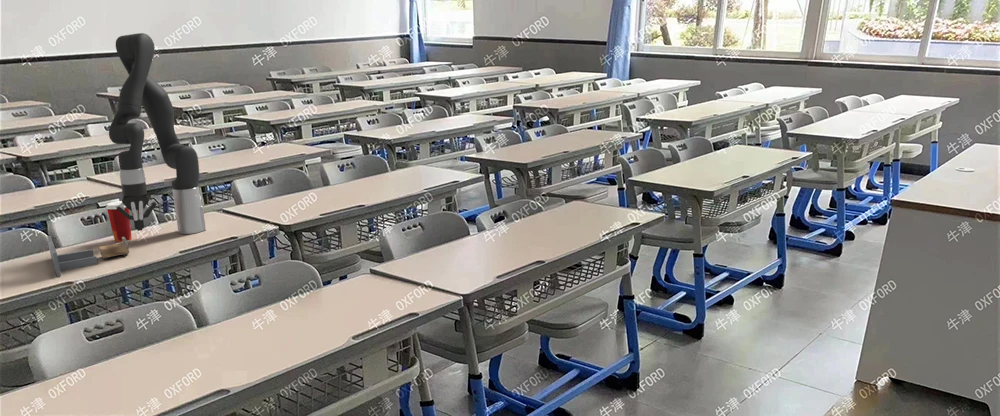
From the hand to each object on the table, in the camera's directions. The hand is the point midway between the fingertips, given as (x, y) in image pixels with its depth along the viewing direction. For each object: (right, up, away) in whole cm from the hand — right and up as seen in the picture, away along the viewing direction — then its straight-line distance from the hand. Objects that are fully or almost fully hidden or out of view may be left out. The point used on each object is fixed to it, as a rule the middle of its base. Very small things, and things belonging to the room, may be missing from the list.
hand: (139, 230), depth 246 cm
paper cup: (-15, -4, +17) cm, 22 cm away
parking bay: (-16, -11, -10) cm, 22 cm away
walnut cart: (-7, -9, -3) cm, 12 cm away
